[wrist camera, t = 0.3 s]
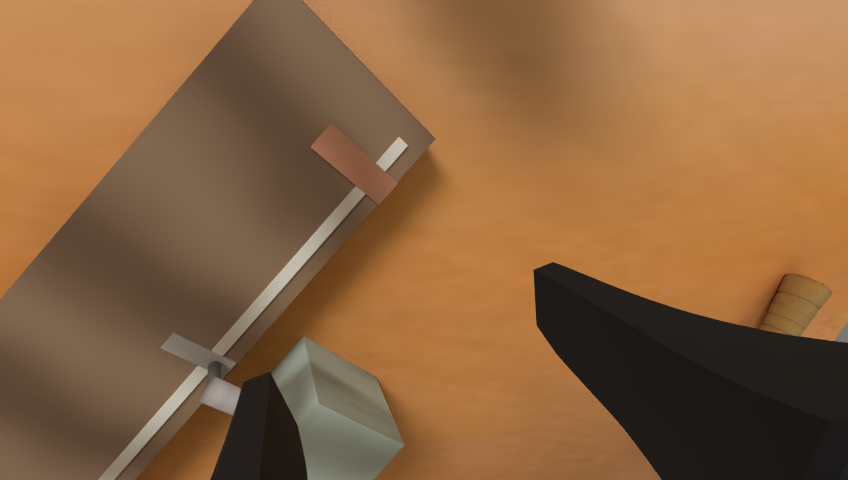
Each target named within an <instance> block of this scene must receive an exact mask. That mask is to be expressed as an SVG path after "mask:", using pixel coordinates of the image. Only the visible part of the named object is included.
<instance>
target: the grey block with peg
mask: <svg viewBox="0 0 848 480" xmlns="http://www.w3.org/2000/svg"><path fill="white" fill-rule="evenodd" d="M221 368H222V365H221V363H220V362H218V361H213V362H211V363H210V364H209V365H208V374H207V384H206V386H205V387H204V389H203V391H202V393H201V396H200V402H201V403H203V404H206V405H208V406H211V407H213V408H215V409H218V410H220V411H222V412H225V413H227V414H230V415H232V416H233V415H234V411H235V408H236V405H237V401H238V398H239V394H240V391H241V388H239V387H237V386H235V385H233V384H230V383H228V382H226V381H224V380H222V379H221ZM271 375H272V377H273V379H274V380H275V382H276V384H277V386H278V388H279V390H280V392H281V394H282V396H283V398H284V400H285V402H286V404H287V406H288V407H289V409H290V411H291V413H292V415H293V417H294V419H295V421H296V423H297V425H298V429H299V433H300V438H301V442H302V447H303V452H304V457H305V462H306V468H307V477H308V480H374V479H375V477H376V476H377V475H378V474H379V473H380V472H381V471H382V470H383V469H384V468H385V467H386V465H387V464H388V463H389V462H390V461H391V460H392V459H393V458H394V457H395V456H396V454H397V453H398V452H399V451H400V450H401V449H402V448H403V447H404V446H405V445H404V443H403V440H402V438H401V435H400V433H399V431H398V428H397V426H396V423H395V421H394V419H393V416H392V414H391V412H390V409H389V407H388V404H387V402H386V400H385V397H384V395H383V393H382V390H381V388H380V385H379V383H378V381H377V378H376V377H375V376H373V375H371V374H369V373H368V372H366V371H364V370H362V369H361V368H359V367H357V366H356V365H354V364H352V363H350V362H349V361H347V360H345V359H343V358H342V357H340V356H338V355H336V354H335V353H333V352H331V351H329V350H328V349H326V348H324V347H322V346H321V345H319V344H317V343H315V342H314V341H312V340H310V339H308V338H307V337H305V336H303V337H302V338H301V339H300V340H299V341H298V342H297V343H296V345H295V346H294V347H293V348H292V349H291V350H290V351H289V353H288V354H287V355H286V356H285V357H284V358H283V359H282V360H281V362H280V363H279V364H278V365H277V366H276V367H275V368H274V369H273V371H272V372H271Z"/></svg>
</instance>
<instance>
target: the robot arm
mask: <svg viewBox="0 0 848 480" xmlns="http://www.w3.org/2000/svg"><path fill="white" fill-rule="evenodd" d="M534 285H535V303H536V321H537V326H538V328H539V329H540V331H541V332H542V334H543V335H544V337H545V338H546V340H547V341H548V343H549V344H550V345H551V347H552V348H553V349H554V351H555V352H556V354H557V355H558V356H559V357H560V358H561V359H562V361H563V362H564V363H565V364H566V365H567V366H568V367H569V368H570V370H571V371H572V372H573V373H574V374H575V375H576V376H577V377H578V378H579V379H580V381H581V382H582V383H583V384H584V385H585V386H586V387H587V388H588V389H589V390H590V391H591V393H592V394H593V395H594V396H595V397H596V398H597V399H598V400H599V401H600V402H601V403H602V404H603V406H604V407H605V408H606V409H607V410H608V411H609V412H610V413H611V414H612V415H613V416H614V418H615V419H616V420H617V421H618V422H619V424H620V425H621V426H622V427H623V428H624V429H625V431H626V432H627V433H628V434H629V436H630V437H631V438H632V440H633V441H634V442H635V444H636V445H637V446H638V448H639V449H640V450H641V452H642V453H643V454H644V456H645V457H646V458H647V460H648V461H649V462H650V464H651V465H652V466H653V468H654V469H655V471H656V472H657V473H658V475H659V476H660V478H661V479H662V480H848V343H843V342H836V341H828V340H821V339H814V338H807V337H800V336H793V335H788V334H782V333H776V332H770V331H765V330H760V329H755V328H751V327H746V326H741V325H736V324H732V323H727V322H723V321H719V320H715V319H712V318H708V317H704V316H700V315H697V314H693V313H689V312H686V311H683V310H679V309H676V308H673V307H670V306H667V305H664V304H661V303H658V302H655V301H652V300H649V299H646V298H643V297H640V296H638V295H635V294H632V293H630V292H627V291H624V290H622V289H619V288H617V287H614V286H611V285H609V284H606V283H604V282H601V281H599V280H597V279H594V278H592V277H589V276H587V275H584V274H582V273H579V272H577V271H575V270H572V269H570V268H567V267H565V266H562V265H559V264H557V263H554V262H552V263H550V264H547V265H545V266H542V267H540V268H537V269H534ZM210 480H308V477H307V468H306V462H305V457H304V452H303V447H302V442H301V438H300V433H299V429H298V425H297V423H296V421H295V419H294V417H293V415H292V413H291V411H290V409H289V407H288V406H287V404H286V402H285V400H284V398H283V396H282V394H281V392H280V390H279V388H278V386H277V384H276V382H275V380H274V379H273V377H272V375H271V373H270V372H269V373H266V374H264V375H261V376H259V377H256V378H254V379H251V380H248V381H246V382H244V384H243V386H242V387H241V391H240V394H239V398H238V401H237V405H236V408H235V411H234V415H233V418H232V421H231V424H230V427H229V430H228V433H227V436H226V439H225V442H224V444H223V447H222V450H221V453H220V455H219V458H218V461H217V464H216V466H215V469H214V472H213V474H212V477H211V479H210Z"/></svg>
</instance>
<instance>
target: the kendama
mask: <svg viewBox="0 0 848 480" xmlns="http://www.w3.org/2000/svg"><path fill="white" fill-rule="evenodd" d="M777 292H778V293H777V294H776V295H775V297H774V299H773V301H772V304H771V305H770V307H769V309H768V311H767V314H766V315H765V317H764V319H763V320H762V325H760V326H759V328H758V329H760V330H765V331H770V332H776V333H782V334H788V335H793V336H801V334H802V333H803V331H804V329H806V327H807V326H808V325H809V323H810V322H811V320H812V319H813V318H814V316H815V315H816V314H817V312H818V310H819V309H820V308H821V307H822V306H823V305H824V303H825V302H826V301H827V300H828V298H829V297H830V296H831V294H832V291H831V290H830V288H828V287H827V286H826V285H824V284H822V283H820V282H818V281H816V280H813V279H811V278H808V277H805V276H802V275H798V274H786V275H785V276H784V278H783V280H782V282H781V284H780V286H779V288H778V291H777Z"/></svg>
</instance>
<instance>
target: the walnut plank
mask: <svg viewBox="0 0 848 480" xmlns="http://www.w3.org/2000/svg"><path fill="white" fill-rule="evenodd" d="M434 140H435V138H434V137H433V136H432V135H431V134H430V133H429V132H428V131H427V130H426V128H425V127H424V126H423V125H422V124H421V123H420V122H419V121H418V120H417V119H416V118H415V117H414V116H413V115H412V114H411V113H410V112H409V111H408V110H407V109H406V108H405V107H404V106H403V105H402V104H401V102H400V101H399V100H398V99H397V98H396V97H395V96H394V95H393V94H392V93H391V92H390V91H389V90H388V89H387V88H386V87H385V86H384V85H383V84H382V83H381V82H380V81H379V80H378V79H377V77H376V76H375V75H374V74H373V73H372V72H371V71H370V70H369V69H368V68H367V67H366V66H365V65H364V64H363V63H362V62H361V61H360V60H359V59H358V58H357V57H356V56H355V55H354V54H353V53H352V51H351V50H350V49H349V48H348V47H347V46H346V45H345V44H344V43H343V42H342V41H341V40H340V39H339V38H338V37H337V36H336V35H335V34H334V33H333V32H332V31H331V30H330V29H329V28H328V26H327V25H326V24H325V23H324V22H323V21H322V20H321V19H320V18H319V17H318V16H317V15H316V14H315V13H314V12H313V11H312V10H311V9H310V8H309V7H308V6H307V5H306V4H305V3H304V2H303V0H254V1H253V2H252V3H251V4H250V6H249V7H248V8H247V9H246V10H245V11H244V13H243V14H242V15H241V16H240V17H239V19H238V20H237V21H236V22H235V23H234V24H233V26H232V27H231V28H230V29H229V30H228V32H227V33H226V34H225V35H224V36H223V37H222V39H221V40H220V41H219V42H218V43H217V44H216V46H215V47H214V48H213V49H212V50H211V52H210V53H209V54H208V55H207V56H206V57H205V59H204V60H203V61H202V62H201V63H200V65H199V66H198V67H197V68H196V69H195V70H194V72H193V73H192V74H191V75H190V76H189V78H188V79H187V80H186V81H185V82H184V83H183V85H182V86H181V87H180V88H179V89H178V91H177V92H176V93H175V94H174V95H173V96H172V98H171V99H170V100H169V101H168V102H167V104H166V105H165V106H164V107H163V108H162V109H161V111H160V112H159V113H158V114H157V115H156V117H155V118H154V119H153V120H152V121H151V122H150V124H149V125H148V126H147V127H146V128H145V129H144V131H143V132H142V133H141V134H140V135H139V137H138V138H137V139H136V140H135V141H134V142H133V144H132V145H131V146H130V147H129V148H128V150H127V151H126V152H125V153H124V154H123V155H122V157H121V158H120V159H119V160H118V161H117V163H116V164H115V165H114V166H113V167H112V168H111V170H110V171H109V172H108V173H107V174H106V176H105V177H104V178H103V179H102V180H101V181H100V183H99V184H98V185H97V186H96V187H95V189H94V190H93V191H92V192H91V193H90V194H89V196H88V197H87V198H86V199H85V200H84V201H83V203H82V204H81V205H80V206H79V207H78V209H77V210H76V211H75V212H74V213H73V214H72V216H71V217H70V218H69V219H68V220H67V222H66V223H65V224H64V225H63V226H62V227H61V229H60V230H59V231H58V232H57V233H56V235H55V236H54V237H53V238H52V239H51V240H50V242H49V243H48V244H47V245H46V246H45V248H44V249H43V250H42V251H41V252H40V253H39V255H38V256H37V257H36V258H35V259H34V261H33V262H32V263H31V264H30V265H29V266H28V268H27V269H26V270H25V271H24V272H23V274H22V275H21V276H20V277H19V278H18V279H17V281H16V282H15V283H14V284H13V285H12V286H11V288H10V289H9V290H8V291H7V292H6V294H5V295H4V296H3V297H2V298H1V299H0V480H135V479H136V478H137V477H138V476H139V475H140V474H141V472H142V471H143V470H144V469H145V468H146V467H147V466H148V464H149V463H150V462H151V461H152V460H153V459H154V458H155V457H156V455H157V454H158V453H159V452H160V451H161V450H162V449H163V447H164V446H165V445H166V444H167V443H168V442H169V441H170V440H171V438H172V437H173V436H174V435H175V434H176V433H177V432H178V430H179V429H180V428H181V427H182V426H183V425H184V424H185V423H186V421H187V420H188V419H189V418H190V417H191V416H192V415H193V413H194V412H195V411H196V410H197V409H198V408H199V407H200V406H201V404H202V403H201V402H200V396H201V393H202V391H203V389H204V387H205V386H206V384H207V374H208V365H209V364H210V363H211V362H213V361H218V362H220V363H221V365H222V368H221V379H222V380H223V379H224V378H225V377H226V376H227V375H228V374H229V373H230V372H231V370H232V369H233V368H234V367H235V366H236V365H237V364H238V362H239V361H240V360H241V359H242V358H243V357H244V356H245V354H246V353H247V352H248V351H249V350H250V349H251V348H252V347H253V345H254V344H255V343H256V342H257V341H258V340H259V339H260V337H261V336H262V335H263V334H264V333H265V332H266V331H267V330H268V328H269V327H270V326H271V325H272V324H273V323H274V322H275V320H276V319H277V318H278V317H279V316H280V315H281V314H282V313H283V311H284V310H285V309H286V308H287V307H288V306H289V305H290V303H291V302H292V301H293V300H294V299H295V298H296V297H297V296H298V294H299V293H300V292H301V291H302V290H303V289H304V288H305V286H306V285H307V284H308V283H309V282H310V281H311V280H312V279H313V277H314V276H315V275H316V274H317V273H318V272H319V271H320V269H321V268H322V267H323V266H324V265H325V264H326V263H327V262H328V260H329V259H330V258H331V257H332V256H333V255H334V254H335V252H336V251H337V250H338V249H339V248H340V247H341V246H342V244H343V243H344V242H345V241H346V240H347V239H348V238H349V237H350V235H351V234H352V233H353V232H354V231H355V230H356V229H357V227H358V226H359V225H360V224H361V223H362V222H363V221H364V220H365V218H366V217H367V216H368V215H369V214H370V213H371V212H372V210H373V209H374V208H375V207H376V206H377V205H380V203H381V202H382V201H383V200H384V199H385V198H386V197H387V195H388V194H389V193H390V192H391V191H392V190H393V189H394V188H395V186H396V185H397V184H398V183H397V182H398V181H399V180H400V179H401V178H402V176H403V175H404V174H405V173H406V172H407V171H408V170H409V169H410V167H411V166H412V165H413V164H414V163H415V162H416V161H417V159H418V158H419V157H420V156H421V155H422V154H423V153H424V152H425V150H426V149H427V148H428V147H429V146H430V145H431V144H432V142H433V141H434Z"/></svg>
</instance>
